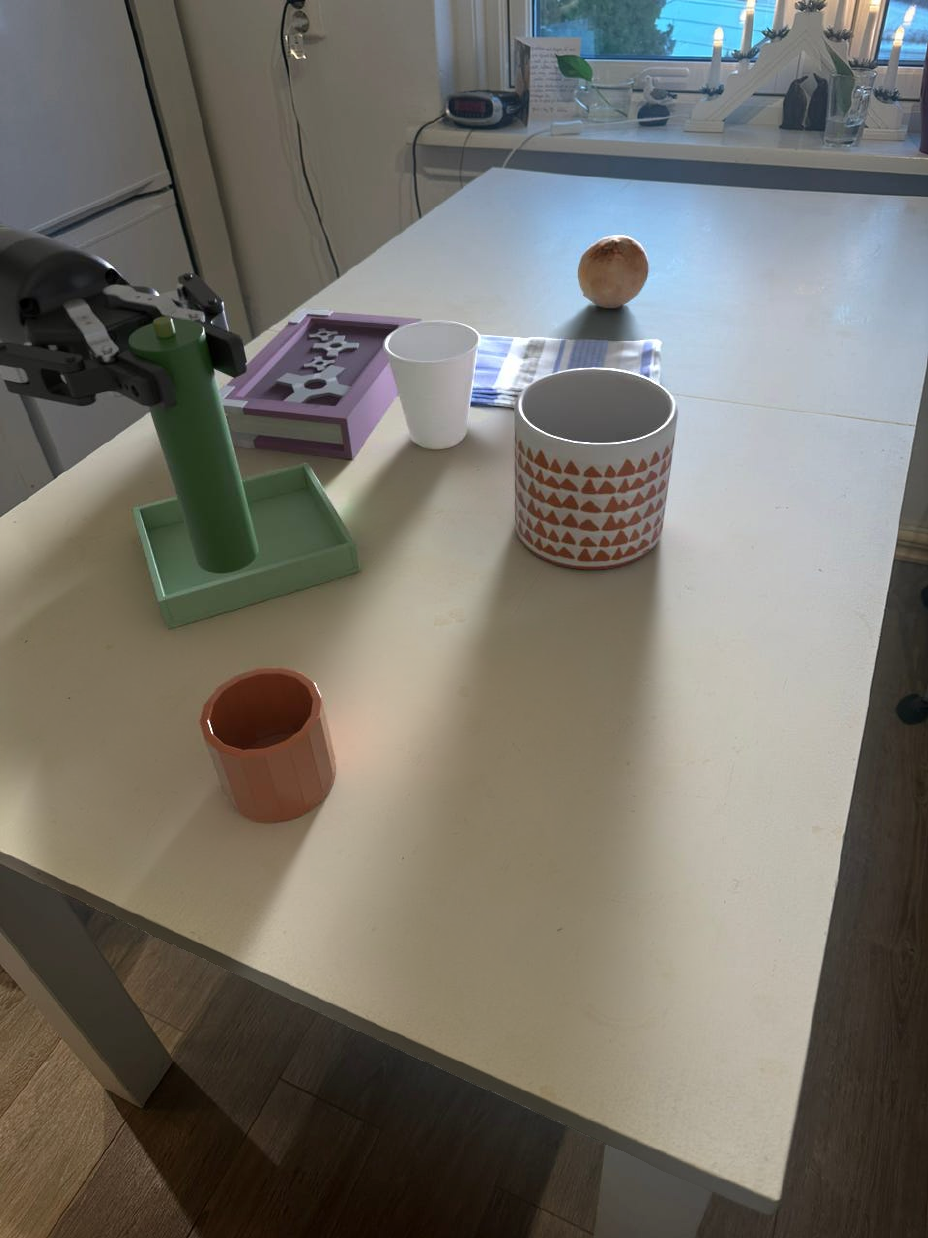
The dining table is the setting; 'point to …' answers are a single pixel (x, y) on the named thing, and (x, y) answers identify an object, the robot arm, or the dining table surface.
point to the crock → (270, 744)
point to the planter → (592, 466)
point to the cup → (434, 379)
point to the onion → (613, 271)
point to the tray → (287, 541)
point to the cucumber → (199, 446)
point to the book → (315, 385)
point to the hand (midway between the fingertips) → (203, 374)
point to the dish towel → (552, 363)
